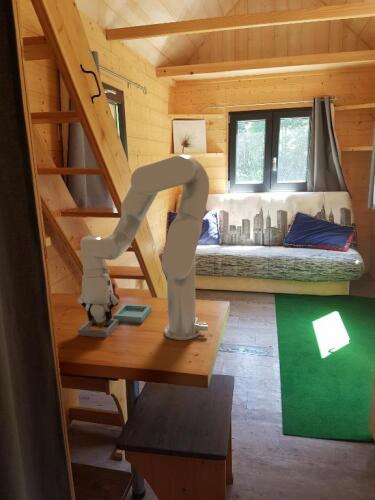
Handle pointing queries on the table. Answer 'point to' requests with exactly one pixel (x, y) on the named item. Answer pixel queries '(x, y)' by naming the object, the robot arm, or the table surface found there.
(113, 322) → the holder
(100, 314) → the light bulb
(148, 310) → the tray
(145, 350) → the table surface
